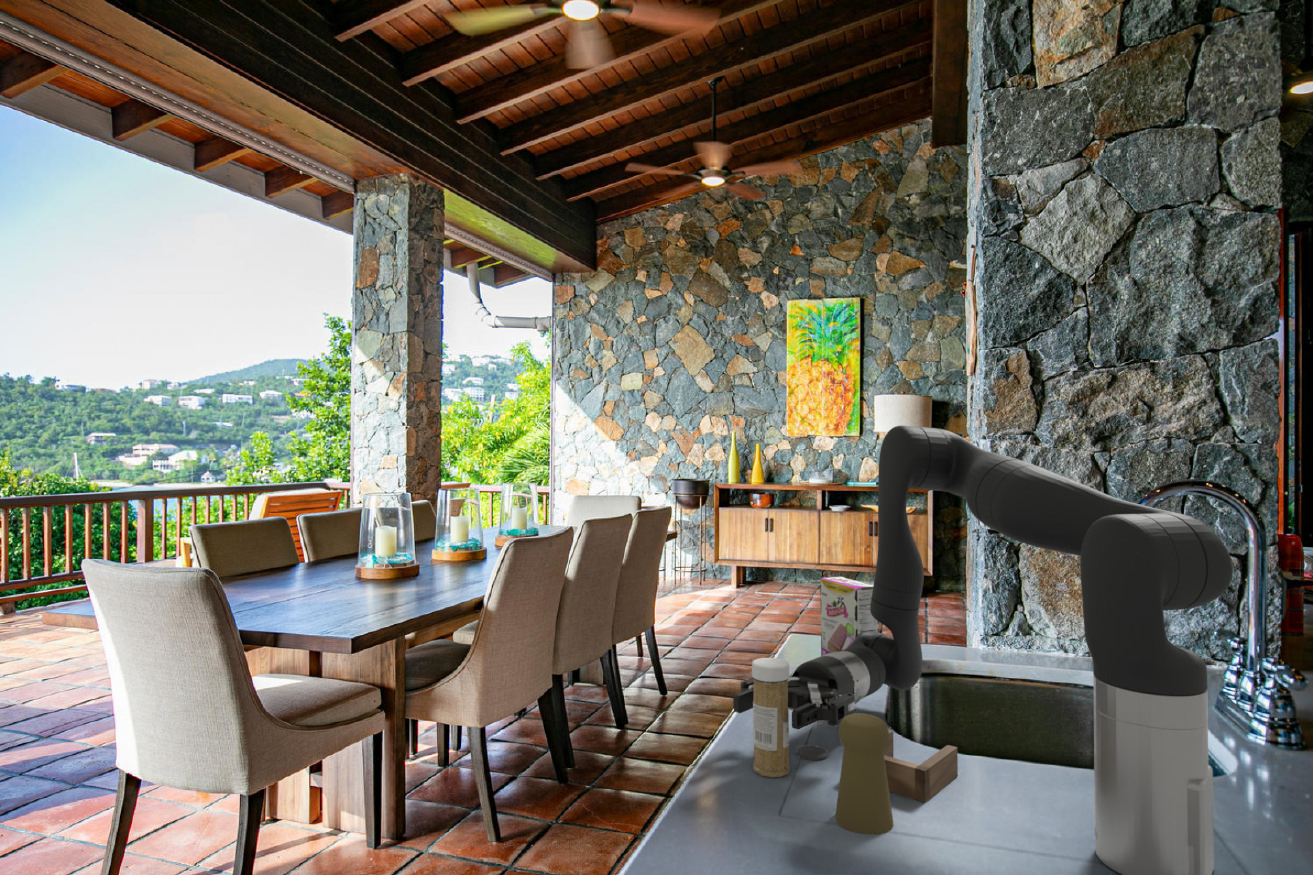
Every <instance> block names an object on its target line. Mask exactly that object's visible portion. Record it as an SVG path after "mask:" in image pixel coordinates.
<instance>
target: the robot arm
mask: <svg viewBox="0 0 1313 875" xmlns="http://www.w3.org/2000/svg"><path fill="white" fill-rule="evenodd" d="M877 476H878V480H877V481H878V482H877V483H878V486H877V488H878V492H877V493H878V495H877V497H878V498H877V517H878V518H877V520H878V521H877V523H878V524H877V526H878V527H877V531H878V532H877V533H878V537H877V539H878V540H877V542H878V543H877V558H876V568H875V571H874V572H875V573H874V579H873V580H874V581H873V584H872V585H873V591H872V598H871V604H870V612H871V615H872V616H873V617H874V618H875V619H876V620H877V621H879V624H882V625H883V626H885V628H886V629H888V630H889V631H890V633H891V635H892V636H889V635H886V634H884V633H881V632H880V631H879V632H876V631H863V632H861V633H860V634H858V636H857V637H856V638H855V640H854V641H853V642H852V644H851V645H850V646H849V647H848V648H847V649H844V650H842V651H839V652H833V653H829V654H826V655H823V656H821V655H820V656H818V657H816V658H813V659H810V660H807V661H805V662H803V663H801V664H800V665H798V666H797V668H795V671H794V672H793V674H792V675H791V676H789V678H788V711H789V710H790V711H792V712H791V727H792V729H795V730H800V729H803V728H805V727H807V726H810V725H812V724H816V725H820V724H821V725H822V724H823V721H825V722H827V725H829V726H832V727H835V726H839V725H840V722H841V721H842V719H843V718H844V717H845V716H847V715H850V714H855V713H856V704H857V703H859V702H860V701H862V700H863V699H864V698H866V697H868V696H870V695H872V694H874V693H876V692H877V691H879V690H880V689H881V688H882V686H883V684H884V685H886V686H888V687H889V688H892V689H895V690H898V691H907V690H910V689H912V688H913V687H914V686H916V684H917V683H918V681H920V679H921V678H920V677H921V676H922V672H923V664H924V663H923V662H924V661H923V652H922V644H921V636H920V624H919V611H920V605H921V599H922V595H923V587H924V582H925V581H924V578H925V577H924V576H925V574H924V572H925V571H924V564H923V560H922V555H921V553H920V551H919V548H918V545H917V543H916V541H915V539H914V536H913V533H912V530H911V527H910V525H909V521H908V514H907V502H908V495H909V491H910V489H912V490H913V489H914V490H925V491H934V492H935V491H937V492H939V491H940V492H946V493H947V492H948V493H951V494H954V495H958V496H960V497H962V498H965V501H966V504H967V507H968V509H969V511H970V512H971V513H972V515H973V516H974V518H975V519H977V520H978V521H979V522H981V523H982V524H983V525H985V526H986V527H988V528H990V529H992V530H993V531H996V532H997V533H1000V534H1001V535H1003V536H1005V537H1008V538H1009V539H1012V540H1014V541H1016V542H1019V543H1022V544H1024V545H1029V546H1032V547H1036V548H1040V549H1044V550H1049V551H1054V552H1059V553H1063V554H1069V555H1075V556H1079V557H1080V563H1079V564H1080V565H1079V566H1080V585H1081V586H1080V587H1081V599H1082V611H1083V628H1084V630H1083V631H1084V637H1085V642H1086V646H1087V648H1088V650H1089V653H1090V656H1091V661H1092V668H1093V670H1092V672H1093V673H1092V674H1093V744H1094V745H1093V746H1094V747H1093V753H1094V754H1093V757H1094V759H1093V762H1094V763H1093V764H1094V765H1093V769H1094V772H1093V773H1094V823H1095V824H1094V838H1095V840H1094V842H1095V843H1094V847H1095V854H1096V856H1097V857H1098V859H1099V860H1100V861H1101V862H1102V863H1103V864H1104V865H1106V866H1107V867H1109V868H1110V869H1111V870H1113V871H1115V872H1116V873H1119V874H1121V875H1213V872H1214V869H1215V851H1214V850H1215V848H1214V847H1215V843H1214V841H1215V840H1214V839H1215V838H1214V834H1215V833H1214V832H1215V831H1214V829H1215V828H1214V782H1213V781H1214V779H1213V778H1214V774H1213V773H1214V772H1213V767H1212V766H1211V765H1210V764H1209V723H1208V722H1209V720H1208V719H1209V714H1208V713H1209V712H1208V710H1209V709H1208V708H1209V706H1208V704H1209V702H1208V701H1209V700H1208V699H1209V698H1208V668H1207V665H1206V662H1205V660H1204V659H1203V658H1202V657H1201V656H1200V655H1199V654H1197V653H1196V652H1193V651H1191V650H1189V649H1186V648H1182V647H1179V646H1177V645H1174V644H1173V643H1171V641H1170V640H1169V639H1168V637H1167V633H1166V627H1165V626H1166V625H1165V617H1164V611H1178V610H1179V611H1181V610H1190V609H1194V608H1197V607H1198V608H1199V607H1202V606H1206V605H1207V604H1210V603H1211V602H1213V601H1216V600H1217V599H1218V598H1219V597H1221V596H1222V595H1223V594H1224V593H1225V592H1226V591H1227V589H1228V588H1229V586H1230V584H1231V583H1232V579H1233V573H1234V572H1233V570H1234V567H1233V563H1232V558H1231V555H1230V552H1229V551H1228V548H1227V547H1226V545H1225V543H1224V542H1223V541H1222V539H1221V538H1220V536H1218V534H1217V533H1216V532H1215V531H1214V530H1213V529H1211V528H1210V527H1209V526H1207V524H1205V523H1203V522H1202V521H1200V520H1198V519H1196V518H1195V517H1192V516H1189V515H1186V514H1183V513H1178V512H1173V511H1169V510H1164V509H1160V508H1155V507H1151V506H1148V505H1144V504H1139V503H1136V502H1131V501H1127V500H1125V499H1120V498H1117V497H1114V496H1112V495H1109V494H1107V493H1104V492H1101V491H1100V490H1097V489H1095V488H1092V487H1090V486H1088V485H1086V484H1083V483H1081V482H1078V481H1076V480H1073V479H1071V478H1069V477H1065V476H1062V475H1060V474H1057V473H1055V472H1052V471H1051V470H1048V469H1045V468H1044V467H1041V466H1038V465H1036V464H1033V463H1030V462H1028V461H1025V460H1022V459H1020V458H1019V459H1018V458H1015V457H1012V456H1009V455H1005V454H1001V453H996V452H991V451H988V450H985V449H983V448H981V447H979V446H977V445H975V444H974V443H972V442H970V441H969V440H967V439H965V438H964V437H962V436H960V435H959V434H956V433H954V432H952V431H950V430H946V429H942V428H937V427H926V426H914V425H897V426H893V427H892V428H891V429H889V430H888V431H887V433H886V434H885V436H884V437H883V440H882V443H881V447H880V451H879V460H878V475H877ZM753 685H754V680H753V677H752V678H750V679H746V680H744V681H743V680H742V681H741V682H740V692H739V693H735V695H733V705H732V706H733V711H734V713H736V714H737V713H738V714H743V713H745V712H747V711H749V710H753V700H754V699H753V697H754V693H753V689H754V686H753Z"/></svg>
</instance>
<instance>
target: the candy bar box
mask: <svg viewBox="0 0 1313 875" xmlns="http://www.w3.org/2000/svg"><path fill="white" fill-rule="evenodd" d="M819 583H820V586H819V587H820V588H819V589H820V590H819V593H820V596H819V597H820V657H821V656H823V655H826V654H829V653H833V652H839V651H842V650H844V649H847V648H848V647H849V646H850V645H851V644H852V642H853V641H854V640H855V638H856V637H857V636H858V634H860V633H861V632H863V631H876V632H879V633H880V628H879V627H880V625H879V624H880V622H879V621H877V620H876V619H875V618H874V617H873V616H872V615H871V612H870V604H871V598H872V591H873V585H874V584H869V583H866V582H862V581H859V580H855V579H851V578H847V577H844V576H830V577H821V578H819Z"/></svg>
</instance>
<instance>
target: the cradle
mask: <svg viewBox="0 0 1313 875" xmlns="http://www.w3.org/2000/svg"><path fill="white" fill-rule="evenodd" d="M888 732H889V741H888V745H887V746H886V748H885V749H884V750H883V751H884V758H885V765H886V773H887V780H888V787H889V793H894V794H897V795H899V796H903V797H906V798H910V799H913V800H916V801H919V802H923V803H927V802H928V801H929V800H931V799H932V798H933V797H934V796H936V795H937V794H938V793H939V792H941V791H942V790H943V789H944V788H946V787H947V786H948V785H950V783H952V782H953V781H954V780H956V779H957V777H956V776H958V775H959V774H958V770H959V769H958V768H959V766H958V761H959V759H958V747H957V746H954V745H949V744H947V745H945V746H944V747H942V748H941V749H940V750H938V751H936V752H935V753H934V754H932V755H930V757H928V758H927V759H926V760H924V761H923V762H922V763H920V764H918V763H913V762H910V761H907V760H902V759H899V758H896V757H894V730H890V729H888ZM953 779H954V780H953ZM952 780H953V781H952ZM951 781H952V782H951Z"/></svg>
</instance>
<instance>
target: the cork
mask: <svg viewBox="0 0 1313 875" xmlns="http://www.w3.org/2000/svg"><path fill="white" fill-rule="evenodd" d="M888 730H889V728H888V725H887V723H886V722H885V721H884V720H883V719H882V718H881V717H879V716H876V715H874V714H870V713H863V712H861V713H860V712H858V713H856V712H855V714H850V715H847V716H845V717H844V718H843V719H842V721H841V722H840V724H839V725H838V737H839V741H840V743H841V744H842V746H843V752H842V762H841V769H840V776H839V784H838V793H837V799H836V800H837V802H836V806H835V807H836V808H835V815H834V817H835V818H834V819H835V822H836V823H837V824H838V825H839V826H840V827H842V828H843V829H845V830H847V831H850V832H851V833H852V832H853V833H855V834H861V835H869V836H872V835H882V834H885V833H888V832H889V831H891V830H892V829H893V828H894V826H895V825H894V816H893V809H892V803H891V796H890V791H889V787H888V780H887V773H886V765H885V758H884V751H883V750H884V749H885V748H886V746H887V745H888V741H889V732H888Z"/></svg>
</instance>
